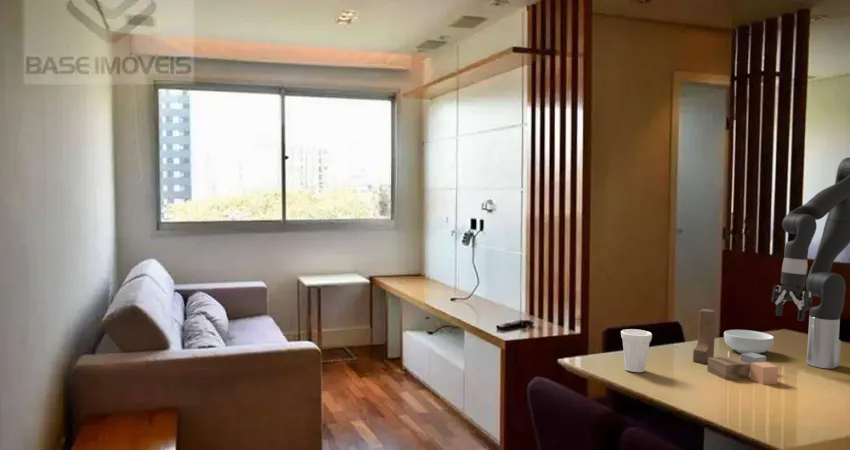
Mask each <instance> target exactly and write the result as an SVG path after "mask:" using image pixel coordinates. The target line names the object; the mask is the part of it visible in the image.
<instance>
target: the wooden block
mask: <svg viewBox="0 0 850 450" xmlns="http://www.w3.org/2000/svg"><path fill="white" fill-rule="evenodd" d="M698 313H699V314H698V315H699V317H698V319H699V320H698V334H697V335H698V338H697V343H696V346H695V347H694V348H693V350H692V351H693V353H692V361H693V363H694V362H695V363H700V364H705V365H706V364H708V358H713V357H714V355H715V337H716V317H717V316H716V315H717V311H716V310H715V309H708V308H702V309H700V310H699V312H698Z"/></svg>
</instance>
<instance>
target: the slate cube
mask: <svg viewBox="0 0 850 450" xmlns="http://www.w3.org/2000/svg"><path fill="white" fill-rule="evenodd" d="M740 360H741V361H743V362H746V363H748V364H750V372H751V363H756V362H767V356H766V355H762V354H756V353H752V352H750V353H744V354H742V353H740ZM750 372H749V373H750Z"/></svg>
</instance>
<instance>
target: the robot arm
mask: <svg viewBox="0 0 850 450" xmlns="http://www.w3.org/2000/svg"><path fill="white" fill-rule="evenodd" d="M826 215H827V216H826ZM825 216H826V218H825V219H826V220H825V223H824V226H823V231H822V235H821V239H820V242H819V244H818V249H817V251H816V255H815V257H814V259H813V262H812V265H811V267H810V270H809V271H808V267H809V266H808V258H809V257H808V256H809V248H810V246H811V245H812V241H813V238H814V236H815V234H816V230H817V226H818V225H817V220H821V219H822V218H824V217H825ZM781 226H782V229H783V230H784V232H785V233H788V234H792V235H795V238H794V239H793V240H790V241H787V242H785V246H784V254H783V255H784V257H783V262H782V264H781V265H782V266H781V276H780V284H781V285H778V284H777V285H773V287H772V294H771V298H770V299H771V303H775V316H777V317H782V316H783V315H784V304H786V302H788V301H790V302H792V303H793V302H794V304H795V305H796V306H797V308H798V309H797V318H796V320H797V321H799V322H803V321H805V318H806V313H807V310H809V315H808V316H809V317H808V330H807V331H808V333H807V348H806V349H807V350H806V364H807V365H808V366H812V367H815V368H822V369H837V368H839V367H840V361H841V360H840V359H841V347H842V346H841V344H842V341H841V339H839V338H840V324H841V322H840V321H841V315H842V313H843V310H844V305H845V299H846V297H845V296H846V288H847V287H846V281H845V278H844V276H842V275H841V274H839V273H835V272H831V270H832V267H833V264H834V261H836V259H837V257H838V256H839V255H840V254H841V253H842V252H843V251H844V250H845V249H846V248H847V247H848V246H849V245H850V157H845V158H844V159H842V160H841V161H840V162H839V164H838V167H837V170H836V175H835V182H834V184H832V185H830V186H828V187H826V188H824V189H822V190H820V191H818V192H817V193H816V194H815V195H814V196H813V197H812V198H810V200H809V201H807V202H806V203H804V204H802V205H801V206H798V207H797V208H795V209H793V210H791V211H790V212H788V213H787V214H786V215H785V216H784V218H783V219H782V223H781ZM807 274H808V275H807ZM805 287H806V288H805ZM805 289H806V291H805ZM813 297H818V298H821V301H820V304H819V305H817V306H813ZM838 366H839V367H838ZM836 367H837V368H836Z"/></svg>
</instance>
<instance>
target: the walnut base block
mask: <svg viewBox="0 0 850 450" xmlns="http://www.w3.org/2000/svg"><path fill="white" fill-rule="evenodd" d="M706 372H707V373H710V374H712V375H714V376H717V377H719V378H721V379H723V380H741V379H742V380H743V379H750V364H748V363H746V362H743V361H741V359H738V358H736V357H733V356H718V357H717V356H715V357H713V358H708V362H707V370H706Z"/></svg>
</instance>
